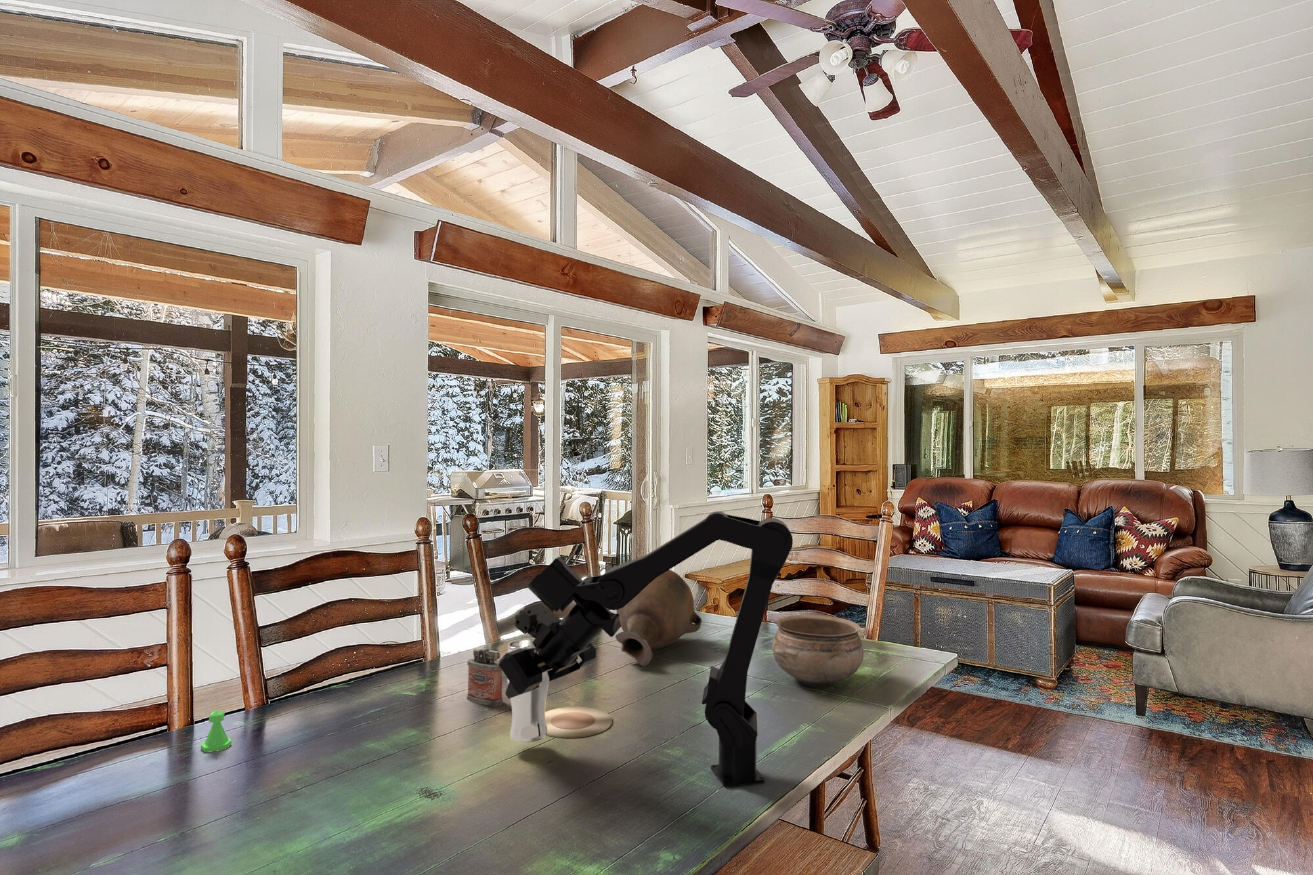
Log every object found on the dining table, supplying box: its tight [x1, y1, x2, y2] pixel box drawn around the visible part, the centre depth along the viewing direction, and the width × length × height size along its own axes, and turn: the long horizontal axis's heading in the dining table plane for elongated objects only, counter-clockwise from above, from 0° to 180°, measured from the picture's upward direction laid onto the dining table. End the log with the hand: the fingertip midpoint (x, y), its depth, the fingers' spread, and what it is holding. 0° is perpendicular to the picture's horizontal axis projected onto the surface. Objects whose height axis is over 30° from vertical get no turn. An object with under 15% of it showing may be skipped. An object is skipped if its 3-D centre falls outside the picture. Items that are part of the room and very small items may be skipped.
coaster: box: [545, 706, 613, 739], centre depth 131 cm, size 14×14×1 cm
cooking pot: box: [772, 614, 865, 688], centre depth 155 cm, size 25×19×12 cm
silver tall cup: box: [506, 637, 550, 743], centre depth 119 cm, size 7×7×15 cm
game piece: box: [200, 709, 233, 753], centre depth 119 cm, size 4×4×6 cm
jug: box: [614, 569, 703, 667], centre depth 177 cm, size 20×20×30 cm
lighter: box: [466, 647, 504, 707], centre depth 141 cm, size 8×3×10 cm, turn 62°
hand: (521, 689), depth 120 cm, fingers closed on silver tall cup, 7 cm apart
